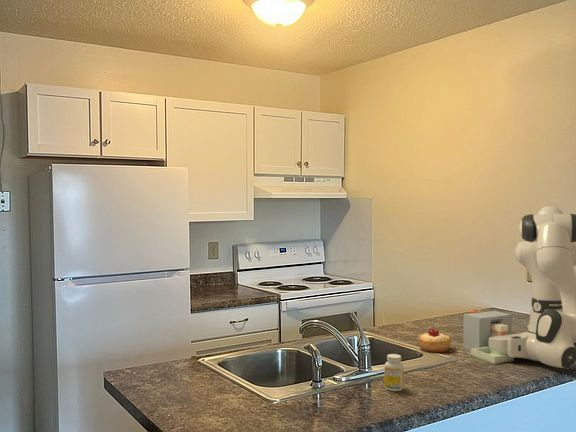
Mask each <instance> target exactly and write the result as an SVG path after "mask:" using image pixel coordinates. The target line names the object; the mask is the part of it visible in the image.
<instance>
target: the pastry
mask: <svg viewBox="0 0 576 432" xmlns="http://www.w3.org/2000/svg"><path fill="white" fill-rule="evenodd" d="M436 328H440V329H441V331H442V332H445V330H444V328H443V327H442V326H439V325H436V326H435V327H434V328H430V329H428V331H427V332H425V333H421V334H419V336H418V338H417V344H418V345H419V347H420V349H421V350H422V351H424V352H429V353H446V352H448V350H449V349H450V346H451V343H452V342H451V341H452V340H451V336H450V335H447V334H444V333H440V331H439V330H438V329H436Z"/></svg>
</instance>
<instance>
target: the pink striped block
mask: <svg viewBox="0 0 576 432" xmlns="http://www.w3.org/2000/svg"><path fill="white" fill-rule="evenodd" d="M492 335H497V336H504V335H508V326H507V325H504V324H500V323H496V322H494V323H491V336H492Z"/></svg>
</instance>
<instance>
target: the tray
mask: <svg viewBox="0 0 576 432" xmlns="http://www.w3.org/2000/svg"><path fill="white" fill-rule="evenodd" d="M470 357H472V358H474V359H475V358H476V359H478V360H481V361H484V362H487V363H489V364H492V365H498V364H504V363H511V362H514V361H515V359H514V357H509V356H508V354H504V353H501V352H498V351H495V350H493V349H491V348H489V346H488V347H481V348H474V349H471V350H470Z"/></svg>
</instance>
